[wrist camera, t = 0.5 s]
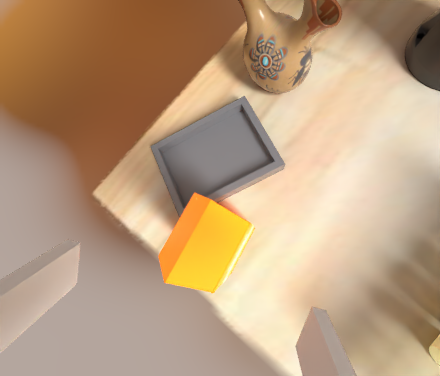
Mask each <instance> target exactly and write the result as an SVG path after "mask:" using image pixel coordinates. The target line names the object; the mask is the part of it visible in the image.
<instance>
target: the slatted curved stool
mask: <svg viewBox="0 0 440 376" xmlns="http://www.w3.org/2000/svg"><path fill="white" fill-rule="evenodd" d="M429 353H430V355H431V357H432V358H433V359H434V361H435V362H436V363H437V364H438V365H439V366H440V334H439V335H438V337H437V338H436V339H435V340H434V342H433V343H432V344H431V346H430V347H429Z"/></svg>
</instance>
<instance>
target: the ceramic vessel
mask: <svg viewBox="0 0 440 376" xmlns="http://www.w3.org/2000/svg"><path fill="white" fill-rule="evenodd" d="M238 1H239V3H240V4H241V6H242V8H243V10H244V13H245V16H246V21H247V33H246V36H245V39H244V44H243V58H244V63H245V66H246V69H247V71H248V73H249V75H250V77H251V78H252V79H253V81H254V82H255V83H256V84H257V85H258V86H260V87H261V88H263V89H264V90H267V91H269V92H273V93H285V92H289V91H291V90H293V89H295V88H296V87H298V86H299V85H300V84H301V83H302V82H303V81H304V79H305V78H306V76H307V74H308V72H309V70H310V67H311V62H312V46H311V42H310V41H311V40H312V38H313V37H314V36H315V35H316V34H318V33H320V32H322V31H324V30H327V29H329V28H332V27H334V26H336V25H337V24H338V23H339V21H340V19H341V16H342V11H341V7H340V5H339V3H338V2H337V1H336V0H304V7H303V12H302V15H301V17H300V19H298V20H296V19H295V18H293V17H292V16H289V15H287V14H284V13H277V12H274V11H272V10H271V9H270V8H269V7H268V5H267V4H266V2H265V0H238Z"/></svg>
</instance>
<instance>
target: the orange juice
mask: <svg viewBox="0 0 440 376" xmlns="http://www.w3.org/2000/svg"><path fill="white" fill-rule="evenodd" d="M254 229H255V228H254V226H253V225H252V224H251V223H250V222H248V221H246V220H244V219H243V218H241V217H239V216H238V215H236V214H234V213H232V212H231V211H229V210H227V209H226V208H224V207H222V206H221V205H219V204H217V203H216V202H214V201H212V200H211V199H208V198H206V197H204V196H201V195H199V194H197V193H194V194H193V196H192V198H191V199H190V201H189V203H188V205H187V206H186V208H185V210H184V212H183V214H182V215H181V217H180V219H179V221H178V222H177V224H176V226H175V228H174V229H173V231H172V233H171V235H170V236H169V238H168V240H167V242H166V243H165V245H164V247H163V249H162V250H161V252H160V254H159V261H160V265H161V269H162V274H163V279H164V283H169V284H174V285H179V286H184V287H189V288H193V289H198V290H203V291H208V292H211V293H212V294H213V293H214V292H215V290H216V289H217V288H218V287H219V286H220V285H221V284H222V283H223V282H224V281H225V280H226V279H227V277H228V276H229V275H230V274H231V273H232V271H233V269H234V267H235V265H236V263H237V261H238V260H239V258H240V256H241V254H242V252H243V250H244V248H245V246H246V244H247V243H248V241H249V239H250V237H251V235H252V233H253V231H254Z"/></svg>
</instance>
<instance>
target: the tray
mask: <svg viewBox="0 0 440 376" xmlns="http://www.w3.org/2000/svg"><path fill="white" fill-rule="evenodd" d="M150 147H151V149H152V152H153V154H154V156H155V159H156V161H157V164H158V166H159V169H160V171H161V173H162V176H163V178H164V181H165V183H166V186H167V188H168V190H169V193H170V195H171V198H172V200H173V203H174V205H175V208H176V210H177V212H178V215H179V217H181V215H182V214H183V212H184V210H185V208H186V206H187V205H188V203H189V201H190V199H191V198H192V196H193V194H194V193H197V194H199V195H201V196H204V197H206V198H208V199H211V200H212V201H214V202H216V203H218V202H220V201H222V200H224V199H226V198H228V197H230V196H231V195H233V194H235V193H237V192H239V191H241V190H243V189H245V188H247V187H249V186H251V185H253V184H255V183H257V182H259V181H261V180H263V179H265V178H267V177H269V176H271V175H273V174H275V173H277V172H279V171H281V170H283V169H284V166H285V163H284V161H283V160H282V158H281V156H280V155H279V153H278V151H277V150H276V148H275V146H274V145H273V143H272V141H271V140H270V138H269V136H268V134H267V133H266V131H265V129H264V128H263V126H262V124H261V123H260V121H259V119H258V118H257V116H256V114H255V113H254V111H253V109H252V108H251V106H250V104H249V102H248V101H247V99H246V97H245V96H243V97H241V98H240V99H238V100H236V101H234V102H232V103H230V104H228V105H226V106H225V107H223V108H221V109H219V110H217V111H215V112H213V113H212V114H210V115H208V116H206V117H204V118H202V119H200V120H199V121H197V122H195V123H193V124H191V125H189V126H187V127H185V128H184V129H182V130H180V131H178V132H176V133H174V134H172V135H171V136H169V137H167V138H165V139H163V140H161V141H159V142H158V143H156V144H154V145H152V146H150Z"/></svg>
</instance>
